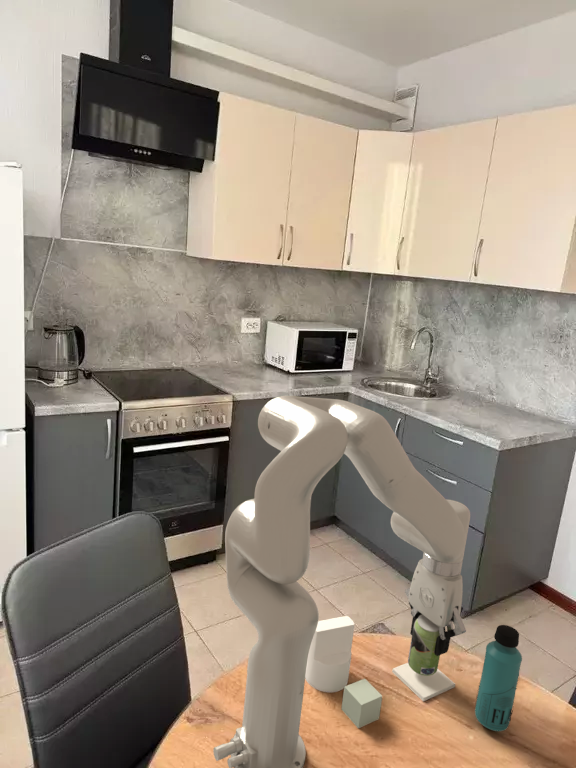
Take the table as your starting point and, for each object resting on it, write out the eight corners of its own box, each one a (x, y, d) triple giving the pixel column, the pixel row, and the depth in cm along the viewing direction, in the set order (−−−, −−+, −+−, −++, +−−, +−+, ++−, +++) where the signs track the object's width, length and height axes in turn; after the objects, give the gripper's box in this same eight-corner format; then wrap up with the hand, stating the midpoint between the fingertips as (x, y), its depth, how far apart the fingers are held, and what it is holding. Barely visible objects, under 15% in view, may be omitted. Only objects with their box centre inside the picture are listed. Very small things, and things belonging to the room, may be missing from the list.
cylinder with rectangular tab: (316, 696, 107) (323, 641, 105) (296, 665, 115) (302, 614, 113) (356, 686, 111) (363, 633, 109) (334, 657, 119) (341, 607, 117)
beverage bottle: (485, 741, 101) (504, 644, 97) (465, 713, 107) (482, 620, 103) (516, 736, 102) (536, 640, 99) (494, 709, 109) (511, 617, 105)
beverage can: (433, 661, 118) (442, 609, 116) (440, 685, 111) (449, 630, 109) (404, 657, 118) (411, 605, 116) (409, 680, 111) (417, 626, 109)
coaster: (423, 701, 109) (423, 697, 109) (392, 671, 116) (392, 668, 116) (454, 687, 114) (455, 683, 114) (422, 659, 121) (423, 656, 121)
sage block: (358, 728, 101) (361, 705, 100) (341, 709, 105) (344, 686, 104) (378, 719, 104) (382, 695, 103) (361, 700, 108) (364, 678, 107)
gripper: (397, 545, 115) (386, 623, 118) (463, 589, 101) (447, 676, 104) (423, 539, 119) (411, 615, 122) (490, 580, 105) (474, 664, 108)
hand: (428, 642), depth 113 cm, fingers closed on beverage can, 6 cm apart
